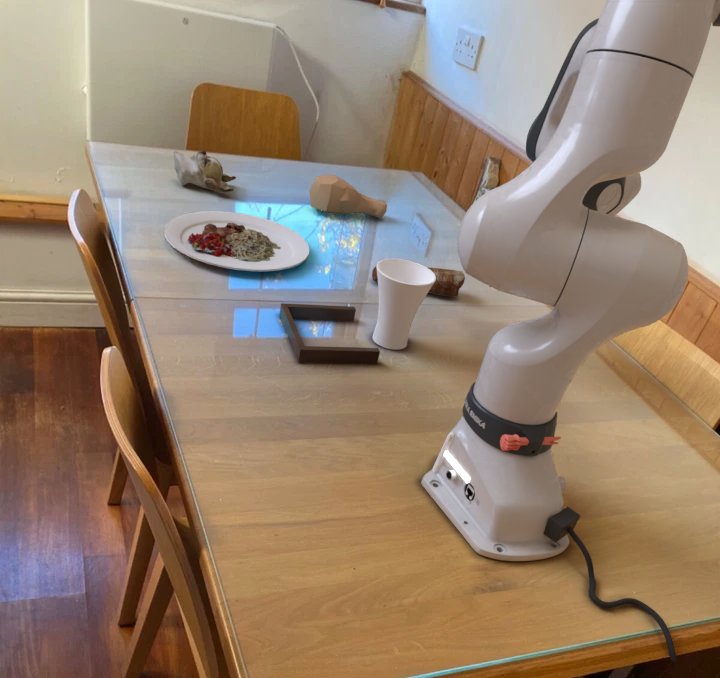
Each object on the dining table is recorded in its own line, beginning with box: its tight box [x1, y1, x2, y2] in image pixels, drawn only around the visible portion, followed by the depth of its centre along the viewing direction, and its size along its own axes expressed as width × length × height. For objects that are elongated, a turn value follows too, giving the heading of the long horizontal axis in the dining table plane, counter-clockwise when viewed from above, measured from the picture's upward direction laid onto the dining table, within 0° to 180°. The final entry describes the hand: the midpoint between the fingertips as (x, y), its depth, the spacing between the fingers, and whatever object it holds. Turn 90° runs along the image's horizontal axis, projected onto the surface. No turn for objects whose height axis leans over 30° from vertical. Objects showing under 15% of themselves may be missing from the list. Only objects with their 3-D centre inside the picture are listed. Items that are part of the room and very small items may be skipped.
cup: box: [372, 258, 436, 351], centre depth 124 cm, size 10×10×14 cm
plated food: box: [164, 210, 310, 272], centre depth 147 cm, size 30×30×3 cm
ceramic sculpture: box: [173, 150, 237, 193], centre depth 169 cm, size 11×9×15 cm
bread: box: [371, 264, 466, 297], centre depth 147 cm, size 6×19×6 cm, turn 89°
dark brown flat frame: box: [279, 302, 381, 365], centre depth 123 cm, size 16×14×2 cm
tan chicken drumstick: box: [309, 174, 388, 219], centre depth 174 cm, size 11×20×9 cm, turn 104°
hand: (484, 281), depth 125 cm, fingers closed
